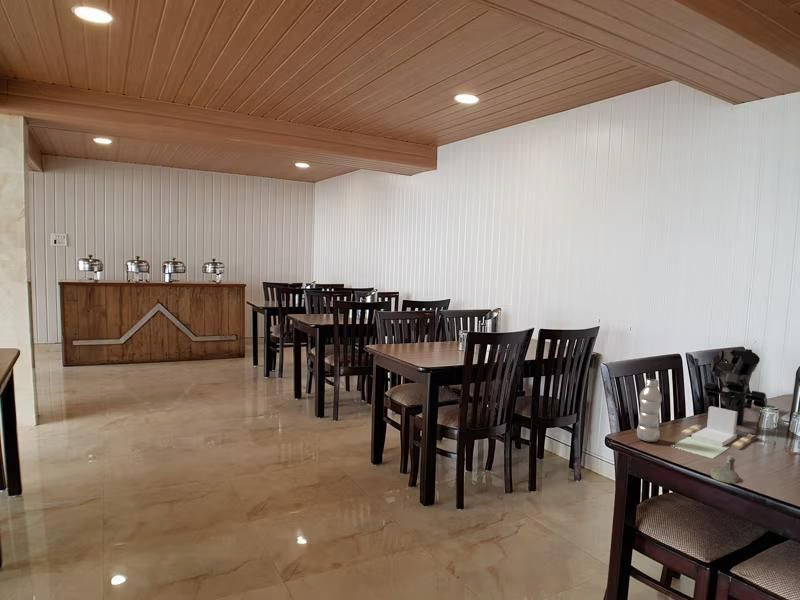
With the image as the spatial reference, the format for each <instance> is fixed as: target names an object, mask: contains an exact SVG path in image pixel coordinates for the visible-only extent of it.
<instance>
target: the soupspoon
mask: <svg viewBox="0 0 800 600" xmlns="http://www.w3.org/2000/svg"><path fill="white" fill-rule="evenodd" d="M734 460H735V457H734V456H733V455H728V456H727V460H726V462H725V464H724V467H723V466H719V467H717V466H716V467H714V468H711V469H710V471H709V472H710V474H709V475H710V477H711V478H712V479H714V480H716V481H719V482H721V483H722V482H723V483H727V484H737V483H738V482H739V480H740V477H739V474H738V473H737V472H736V471H735V470H732V469H730V468H729V467H730V466H729V465H730V464H731V463H730V462H731V461H734Z"/></svg>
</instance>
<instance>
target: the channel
mask: <svg viewBox="0 0 800 600" xmlns="http://www.w3.org/2000/svg"><path fill="white" fill-rule="evenodd" d="M701 425H702V424H700V425H699V424H697V423H696V424H694V425H691V426H689V427H687V428H686V429H683V430H681V431H680V435H681V436H685V437H690V435H692V434H693V433H696V432H698V431H700V430H702V429H703V427H702V426H701ZM750 442H752V439H751V438H750V437H746V436H744V437H740V438H739V439H738V440H736V441H735V442H733V443H732V444H731V449H734V450H741V449H742V448H744V447H745V446H746V445H748V444H749V443H750ZM747 443H748V444H747Z"/></svg>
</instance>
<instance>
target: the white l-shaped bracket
mask: <svg viewBox="0 0 800 600" xmlns="http://www.w3.org/2000/svg"><path fill="white" fill-rule="evenodd" d="M737 413H738V412H736V411H731V410H727V409H726V408H723V407H722V408H721V407H718V406H712V405H710V406H709V407H708V413H707V422H706V423H707V427H706V428H701V429H700V430H698V431H696V432H695V433H693V434H691V436H690V437H691V439H693V440H697V441H701V442H705V443H709V444H713V445H716V446H720V447H723V446H726V445H728V444H729V443H732V441H734V440H736V439H737V437H738V436H737V434H735V432H736V430H737V424H736V423H737Z"/></svg>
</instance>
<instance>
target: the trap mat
mask: <svg viewBox="0 0 800 600" xmlns="http://www.w3.org/2000/svg"><path fill="white" fill-rule="evenodd" d="M700 425H701V426H702V429H704V428H706V427H707V422H704V423H702V424H700ZM749 433H750V432H747V431H742V430H739V429H736V432H735V434H737V437H740V436H742V437H744V436H746V437H747V435H748V434H749ZM742 437H741V438H742Z"/></svg>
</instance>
